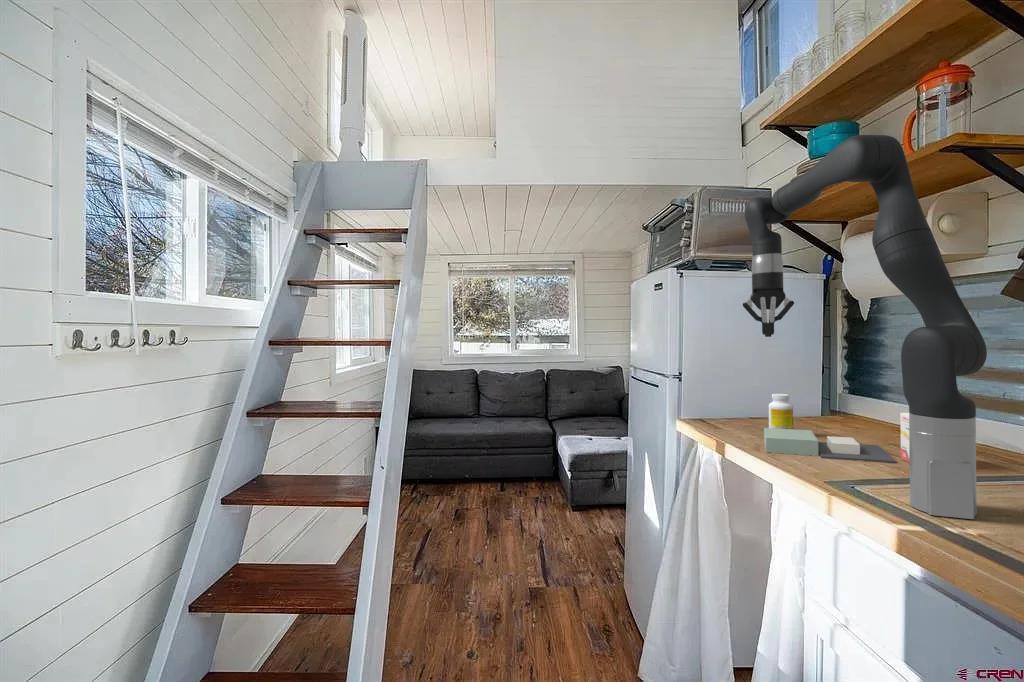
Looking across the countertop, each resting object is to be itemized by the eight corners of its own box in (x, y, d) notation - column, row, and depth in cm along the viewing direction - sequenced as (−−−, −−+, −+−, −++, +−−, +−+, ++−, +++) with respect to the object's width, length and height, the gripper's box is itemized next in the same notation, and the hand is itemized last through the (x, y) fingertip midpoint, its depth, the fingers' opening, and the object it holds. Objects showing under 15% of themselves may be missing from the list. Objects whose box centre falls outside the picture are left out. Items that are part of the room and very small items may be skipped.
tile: (832, 443, 132) (832, 452, 132) (859, 444, 130) (860, 454, 130) (826, 436, 140) (826, 445, 140) (852, 437, 138) (852, 446, 138)
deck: (818, 456, 131) (818, 440, 131) (766, 452, 136) (766, 437, 136) (811, 444, 144) (811, 430, 144) (764, 441, 149) (763, 428, 149)
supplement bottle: (797, 439, 151) (796, 396, 151) (773, 438, 152) (772, 396, 152) (788, 434, 158) (788, 393, 157) (765, 434, 159) (765, 393, 158)
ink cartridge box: (899, 459, 126) (898, 400, 126) (921, 459, 125) (921, 400, 125) (919, 468, 118) (918, 405, 118) (943, 469, 117) (943, 405, 117)
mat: (896, 463, 123) (896, 461, 123) (821, 458, 129) (821, 456, 129) (877, 446, 139) (877, 444, 139) (812, 443, 146) (812, 441, 145)
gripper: (740, 272, 136) (741, 337, 136) (796, 269, 130) (797, 336, 131) (740, 275, 143) (741, 336, 143) (793, 271, 137) (794, 336, 137)
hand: (768, 336), depth 137 cm, fingers closed
